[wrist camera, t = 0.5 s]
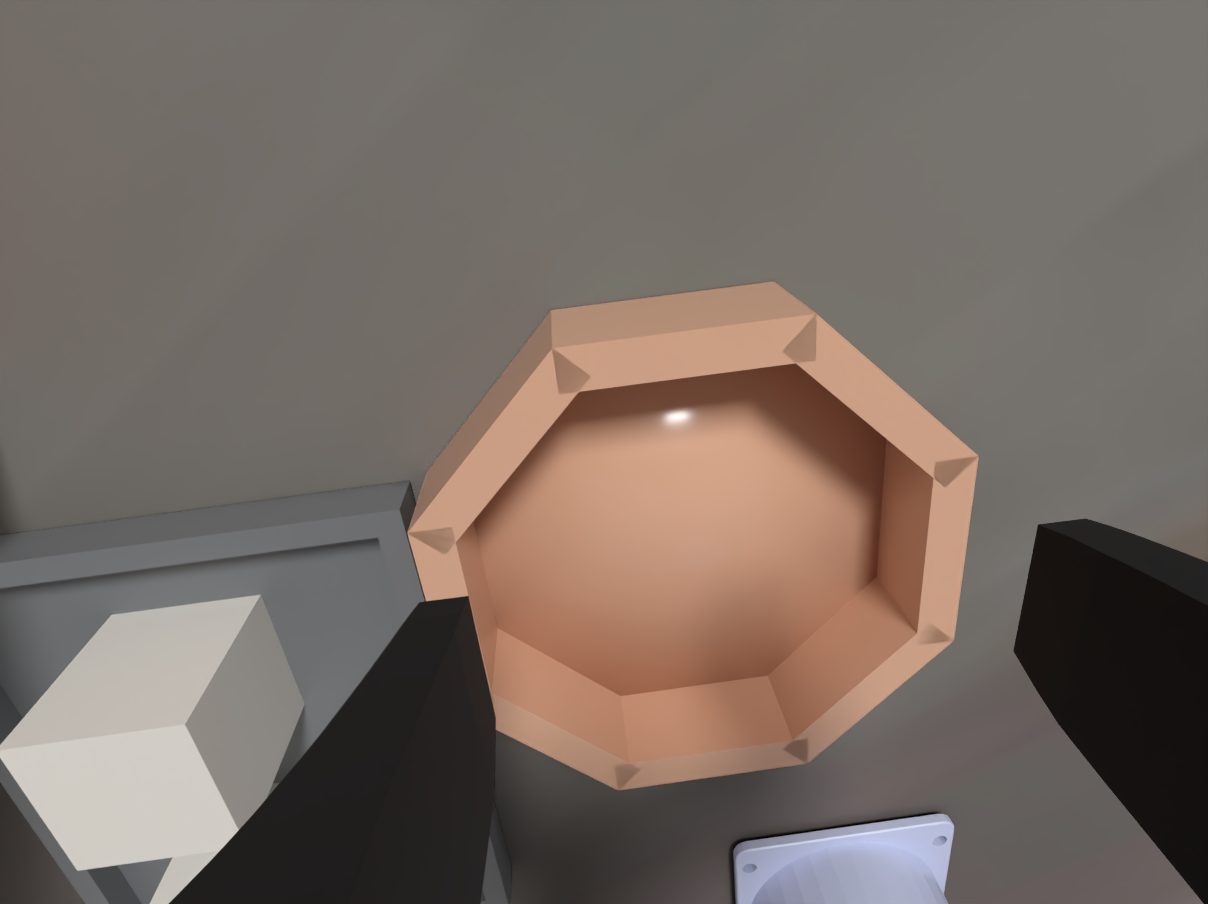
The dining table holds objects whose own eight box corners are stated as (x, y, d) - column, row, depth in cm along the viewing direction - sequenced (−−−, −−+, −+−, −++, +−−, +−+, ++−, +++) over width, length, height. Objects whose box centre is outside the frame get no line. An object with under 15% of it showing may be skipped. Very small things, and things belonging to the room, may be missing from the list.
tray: (511, 868, 26) (510, 910, 24) (150, 920, 26) (128, 965, 24) (410, 480, 19) (399, 509, 17) (-91, 547, 18) (-141, 582, 17)
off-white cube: (304, 704, 21) (247, 846, 17) (167, 723, 21) (77, 870, 17) (260, 594, 19) (184, 724, 15) (111, 615, 19) (-5, 750, 15)
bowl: (893, 670, 23) (939, 744, 20) (490, 726, 23) (483, 809, 20) (929, 261, 17) (1001, 289, 15) (391, 330, 17) (362, 372, 14)
